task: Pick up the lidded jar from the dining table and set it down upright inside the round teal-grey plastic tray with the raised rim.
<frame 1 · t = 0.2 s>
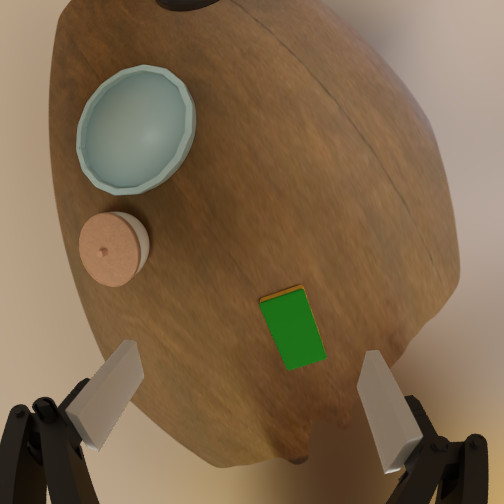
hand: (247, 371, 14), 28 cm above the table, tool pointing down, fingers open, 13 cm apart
lidded jar: (131, 239, 42), on the table
round tray: (134, 129, 37), on the table
dish sponge: (294, 325, 44), on the table
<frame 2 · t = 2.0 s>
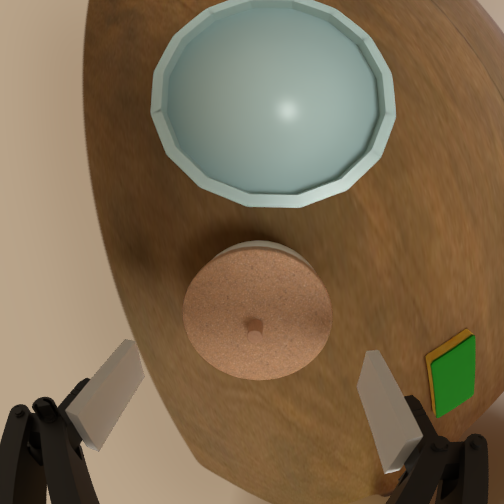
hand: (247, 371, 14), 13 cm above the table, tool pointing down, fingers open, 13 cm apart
lidded jar: (261, 283, 26), on the table
round tray: (273, 91, 21), on the table
dish sponge: (448, 371, 28), on the table
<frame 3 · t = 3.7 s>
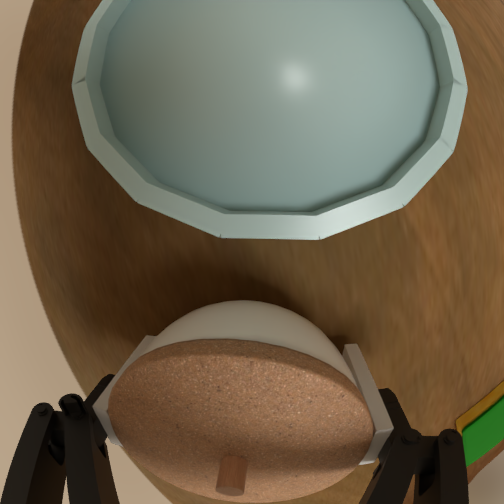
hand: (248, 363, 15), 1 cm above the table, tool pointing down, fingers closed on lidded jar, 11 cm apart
lidded jar: (250, 351, 16), on the table, touching gripper
round tray: (269, 39, 11), on the table
dish sponge: (480, 422, 18), on the table
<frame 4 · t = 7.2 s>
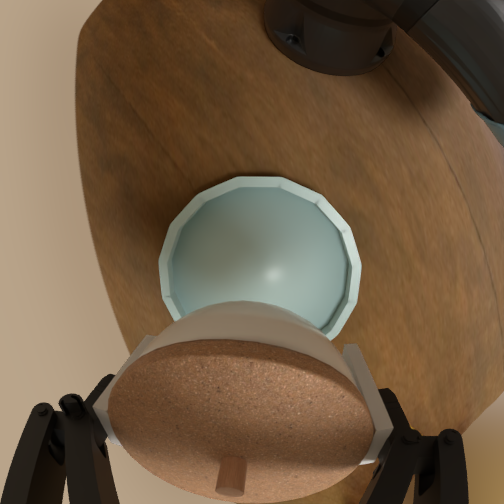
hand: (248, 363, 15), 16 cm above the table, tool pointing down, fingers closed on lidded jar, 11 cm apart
lidded jar: (250, 352, 16), point 15 cm above the table, touching gripper
round tray: (259, 275, 30), on the table
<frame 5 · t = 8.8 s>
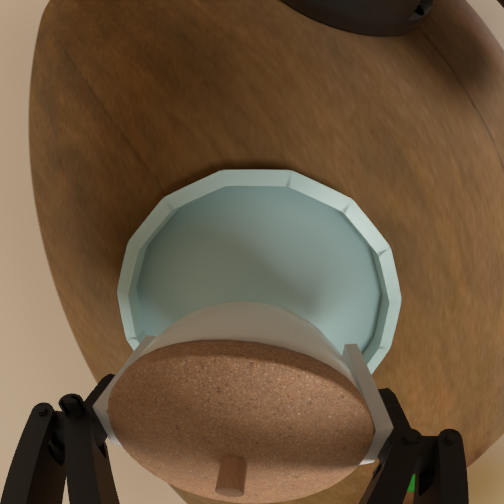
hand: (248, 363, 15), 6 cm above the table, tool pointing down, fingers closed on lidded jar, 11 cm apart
lidded jar: (250, 352, 16), point 5 cm above the table, touching gripper
round tray: (257, 311, 21), on the table
when the fingers open (3 cm above the table, at t = 10.4 s): lidded jar drops 1 cm, resting on round tray.
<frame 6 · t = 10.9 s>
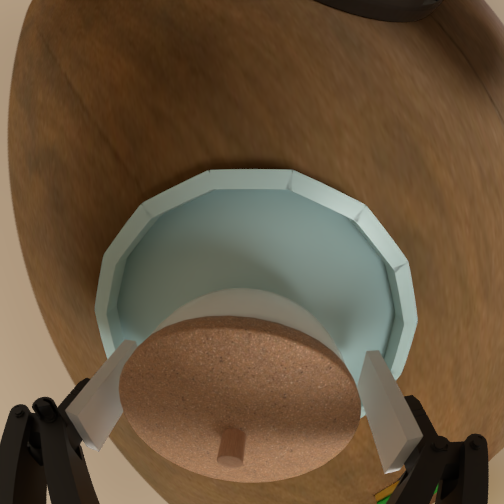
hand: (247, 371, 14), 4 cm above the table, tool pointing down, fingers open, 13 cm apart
lidded jar: (249, 339, 17), point 1 cm above the table, touching round tray
round tray: (253, 333, 18), on the table
dish sponge: (414, 482, 25), on the table
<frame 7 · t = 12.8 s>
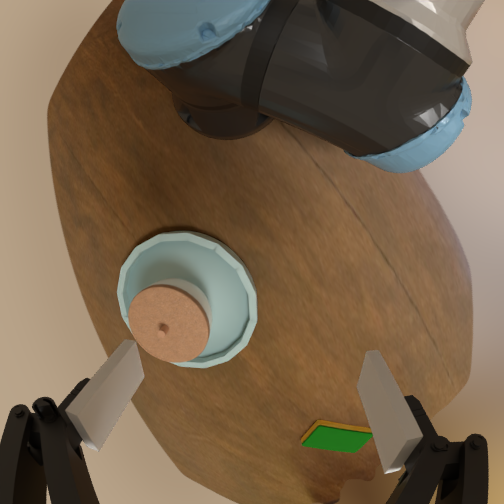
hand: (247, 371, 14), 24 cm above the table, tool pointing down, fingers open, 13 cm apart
lidded jar: (184, 302, 39), point 1 cm above the table, touching round tray
round tray: (186, 300, 40), on the table
dish sponge: (337, 432, 46), on the table
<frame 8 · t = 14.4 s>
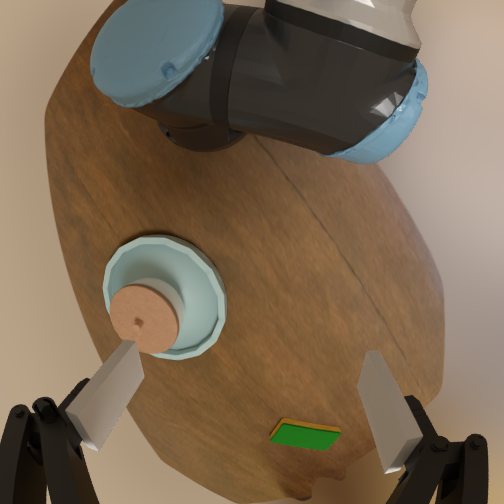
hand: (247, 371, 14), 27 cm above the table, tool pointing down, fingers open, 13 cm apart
lidded jar: (161, 299, 42), point 1 cm above the table, touching round tray
round tray: (164, 297, 43), on the table
dish sponge: (305, 430, 50), on the table
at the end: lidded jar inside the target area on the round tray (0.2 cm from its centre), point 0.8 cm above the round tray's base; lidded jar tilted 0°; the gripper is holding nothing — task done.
